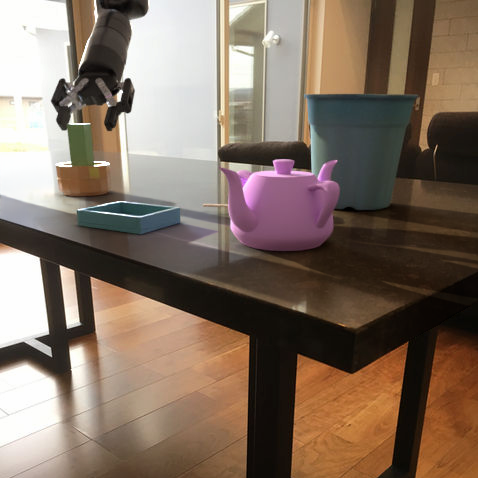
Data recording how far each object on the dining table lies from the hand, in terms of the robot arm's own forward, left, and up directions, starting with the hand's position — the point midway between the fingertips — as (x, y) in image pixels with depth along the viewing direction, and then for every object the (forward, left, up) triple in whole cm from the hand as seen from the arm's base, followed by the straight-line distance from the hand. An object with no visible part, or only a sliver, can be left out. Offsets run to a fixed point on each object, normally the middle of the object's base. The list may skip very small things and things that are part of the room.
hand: (84, 127), depth 90 cm
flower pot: (+46, +10, -11) cm, 48 cm away
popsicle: (+36, -4, -11) cm, 38 cm away
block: (+1, -2, -10) cm, 11 cm away
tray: (+26, -19, -11) cm, 34 cm away
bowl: (+1, -2, -11) cm, 11 cm away
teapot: (+47, -18, -11) cm, 51 cm away
